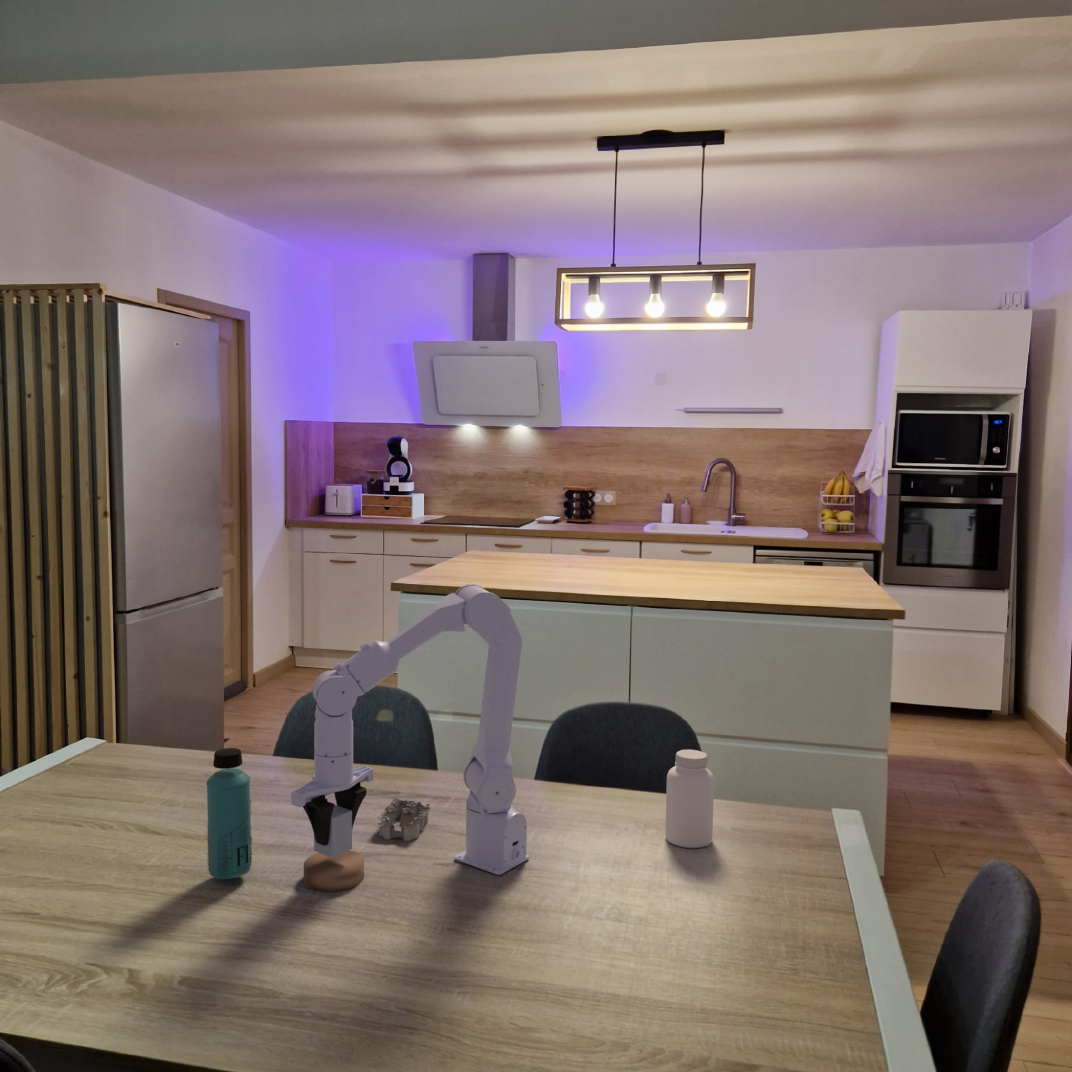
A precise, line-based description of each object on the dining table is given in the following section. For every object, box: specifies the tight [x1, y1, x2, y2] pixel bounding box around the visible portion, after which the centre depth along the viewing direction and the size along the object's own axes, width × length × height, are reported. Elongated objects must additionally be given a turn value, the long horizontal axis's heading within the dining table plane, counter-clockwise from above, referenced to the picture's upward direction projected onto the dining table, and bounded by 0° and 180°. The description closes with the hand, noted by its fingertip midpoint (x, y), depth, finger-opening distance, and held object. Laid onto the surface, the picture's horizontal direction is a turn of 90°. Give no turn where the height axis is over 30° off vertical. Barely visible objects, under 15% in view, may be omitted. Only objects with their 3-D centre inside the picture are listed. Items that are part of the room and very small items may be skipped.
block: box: [313, 804, 353, 858], centre depth 141 cm, size 4×4×6 cm
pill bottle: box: [664, 749, 715, 849], centre depth 158 cm, size 8×8×15 cm
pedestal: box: [303, 850, 365, 893], centre depth 142 cm, size 9×9×2 cm
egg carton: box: [376, 797, 431, 842], centre depth 161 cm, size 11×8×4 cm
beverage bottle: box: [205, 747, 253, 880], centre depth 140 cm, size 6×7×20 cm
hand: (333, 838), depth 141 cm, fingers closed on block, 4 cm apart
